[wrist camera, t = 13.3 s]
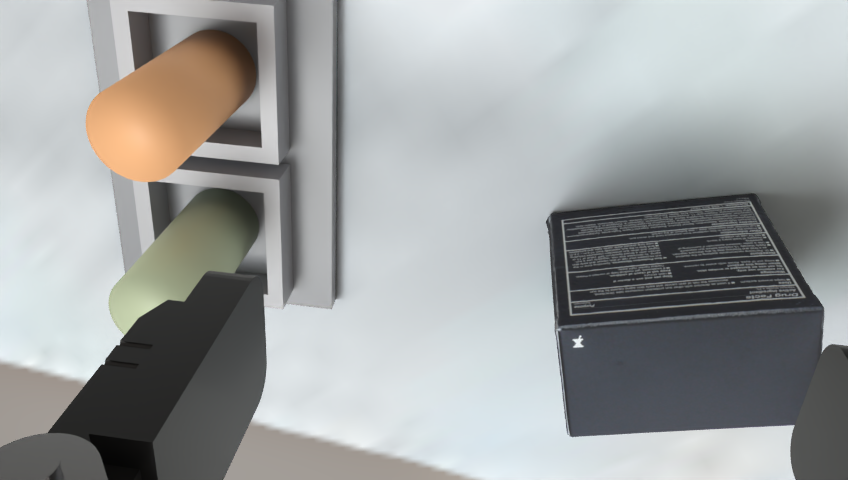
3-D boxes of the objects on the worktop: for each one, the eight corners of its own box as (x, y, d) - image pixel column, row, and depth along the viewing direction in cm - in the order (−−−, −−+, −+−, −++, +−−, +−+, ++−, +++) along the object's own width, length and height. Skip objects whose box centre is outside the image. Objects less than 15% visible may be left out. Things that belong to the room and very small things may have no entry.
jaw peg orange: (173, 25, 38) (78, 80, 30) (254, 33, 38) (180, 90, 30) (180, 105, 40) (93, 176, 32) (257, 113, 39) (189, 187, 32)
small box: (557, 315, 44) (563, 446, 35) (545, 211, 41) (548, 323, 32) (756, 300, 42) (819, 434, 33) (759, 189, 39) (828, 302, 30)
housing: (91, -46, 38) (57, -36, 35) (337, -26, 37) (322, -14, 34) (134, 276, 46) (110, 303, 44) (335, 299, 45) (323, 329, 43)
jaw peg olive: (184, 184, 42) (103, 269, 34) (257, 192, 42) (192, 279, 34) (190, 250, 44) (115, 344, 36) (260, 258, 43) (199, 355, 36)
